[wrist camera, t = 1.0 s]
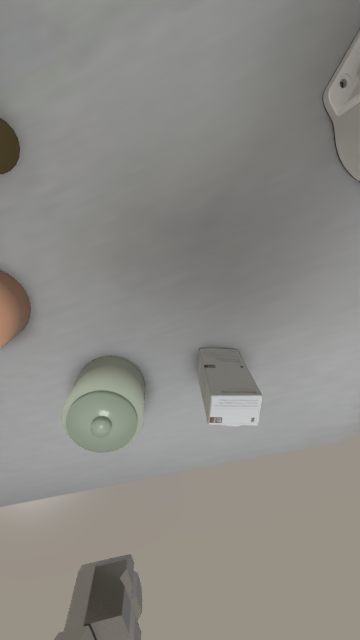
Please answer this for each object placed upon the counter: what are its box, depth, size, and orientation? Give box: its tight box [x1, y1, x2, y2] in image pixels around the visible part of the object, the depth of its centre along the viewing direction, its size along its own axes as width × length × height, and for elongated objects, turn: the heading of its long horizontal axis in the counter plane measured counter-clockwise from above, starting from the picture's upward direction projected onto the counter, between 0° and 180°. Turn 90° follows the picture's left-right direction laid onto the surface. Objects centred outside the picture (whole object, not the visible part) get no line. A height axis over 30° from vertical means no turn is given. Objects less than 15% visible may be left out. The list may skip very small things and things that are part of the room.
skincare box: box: [197, 348, 262, 426], centre depth 39 cm, size 6×4×12 cm
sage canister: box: [62, 356, 145, 452], centre depth 40 cm, size 10×10×10 cm
